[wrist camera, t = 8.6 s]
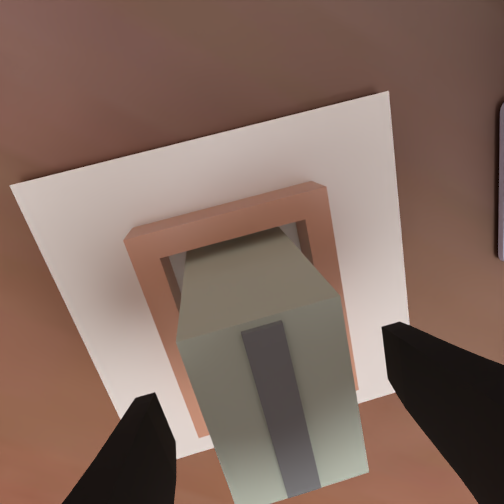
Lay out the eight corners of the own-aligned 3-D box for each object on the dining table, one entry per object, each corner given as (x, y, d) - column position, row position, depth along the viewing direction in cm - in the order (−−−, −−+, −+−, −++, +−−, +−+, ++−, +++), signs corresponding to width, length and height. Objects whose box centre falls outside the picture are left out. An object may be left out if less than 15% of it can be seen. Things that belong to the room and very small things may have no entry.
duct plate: (376, 93, 15) (415, 83, 12) (404, 374, 20) (436, 410, 17) (22, 182, 14) (-20, 192, 11) (146, 452, 19) (138, 503, 16)
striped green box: (302, 341, 17) (371, 476, 10) (223, 364, 17) (239, 518, 10) (277, 225, 15) (342, 298, 8) (186, 249, 15) (175, 346, 8)
